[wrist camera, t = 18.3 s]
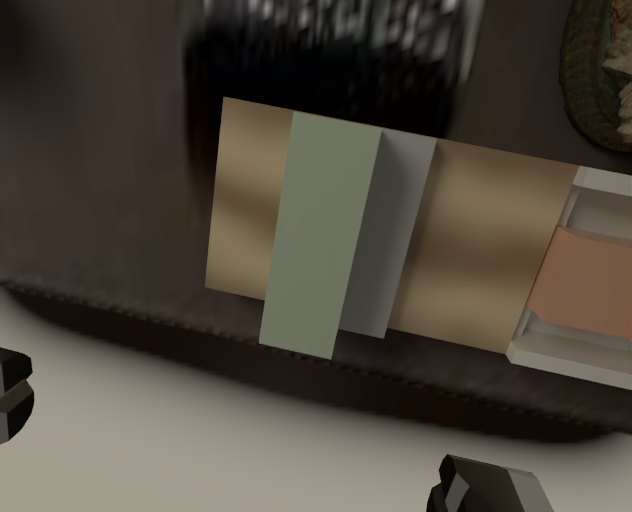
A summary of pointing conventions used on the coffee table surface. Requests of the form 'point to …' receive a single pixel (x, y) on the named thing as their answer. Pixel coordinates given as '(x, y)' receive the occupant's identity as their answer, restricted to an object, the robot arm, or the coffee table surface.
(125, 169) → the coffee table surface
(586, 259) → the tile
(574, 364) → the box
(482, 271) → the board
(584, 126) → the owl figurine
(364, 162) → the grey-green boxy piece
